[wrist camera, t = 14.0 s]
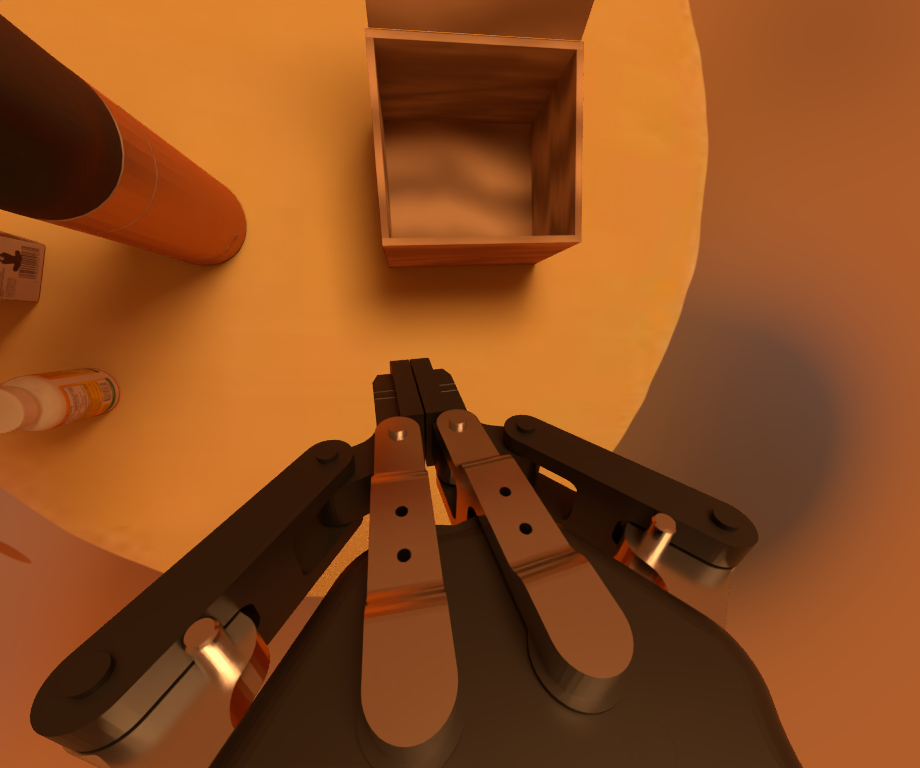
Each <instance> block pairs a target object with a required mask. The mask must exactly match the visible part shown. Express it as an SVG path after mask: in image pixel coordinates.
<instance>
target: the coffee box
mask: <svg viewBox="0 0 920 768" xmlns="http://www.w3.org/2000/svg"><path fill="white" fill-rule="evenodd" d="M44 252H45V245H43V244H41V243H38V242H35V241H32V240H28V239H25V238H22V237H18V236H15V235H11V234H8V233H5V232H1V231H0V300H13V301H32V302H37V301H38V299H39V293H40V285H41V277H42V269H43V260H44Z"/></svg>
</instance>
